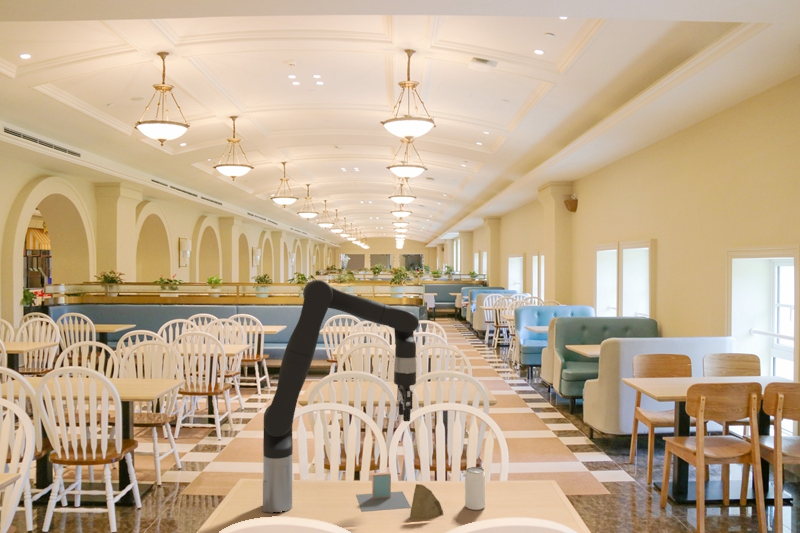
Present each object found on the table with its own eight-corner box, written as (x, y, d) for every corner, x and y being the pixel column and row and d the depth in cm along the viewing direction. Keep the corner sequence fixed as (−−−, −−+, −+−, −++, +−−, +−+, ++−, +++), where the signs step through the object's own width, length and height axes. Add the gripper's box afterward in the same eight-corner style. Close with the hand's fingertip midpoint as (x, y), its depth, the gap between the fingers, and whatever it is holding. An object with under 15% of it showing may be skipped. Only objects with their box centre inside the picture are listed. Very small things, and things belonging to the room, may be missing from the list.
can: (469, 511, 187) (469, 474, 187) (462, 503, 193) (462, 467, 193) (488, 509, 189) (488, 472, 189) (480, 501, 195) (480, 465, 195)
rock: (446, 503, 188) (416, 496, 190) (447, 488, 183) (416, 481, 185) (439, 535, 180) (408, 527, 182) (440, 520, 175) (407, 512, 177)
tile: (372, 499, 195) (373, 475, 195) (372, 497, 197) (372, 473, 197) (390, 497, 197) (390, 474, 197) (389, 496, 198) (389, 472, 198)
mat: (361, 513, 185) (361, 511, 185) (356, 496, 199) (356, 494, 199) (411, 509, 189) (411, 507, 189) (402, 493, 202) (402, 491, 202)
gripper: (390, 366, 206) (389, 413, 206) (398, 373, 192) (397, 423, 192) (411, 366, 207) (410, 412, 207) (420, 373, 193) (419, 423, 193)
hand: (404, 417), depth 199 cm, fingers open, 8 cm apart
